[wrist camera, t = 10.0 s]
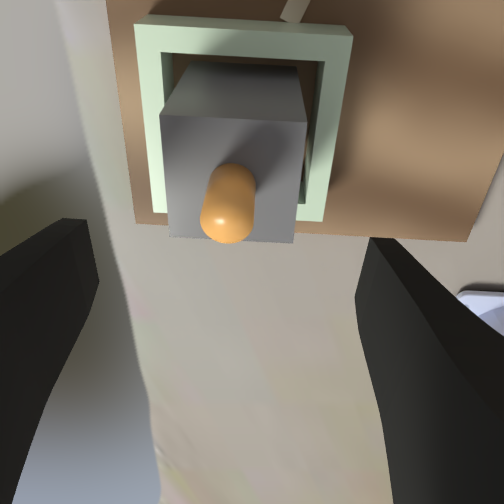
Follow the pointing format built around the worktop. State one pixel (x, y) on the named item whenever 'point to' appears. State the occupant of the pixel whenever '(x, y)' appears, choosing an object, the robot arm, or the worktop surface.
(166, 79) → the frame
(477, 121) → the board
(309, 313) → the worktop surface
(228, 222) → the connector plug
